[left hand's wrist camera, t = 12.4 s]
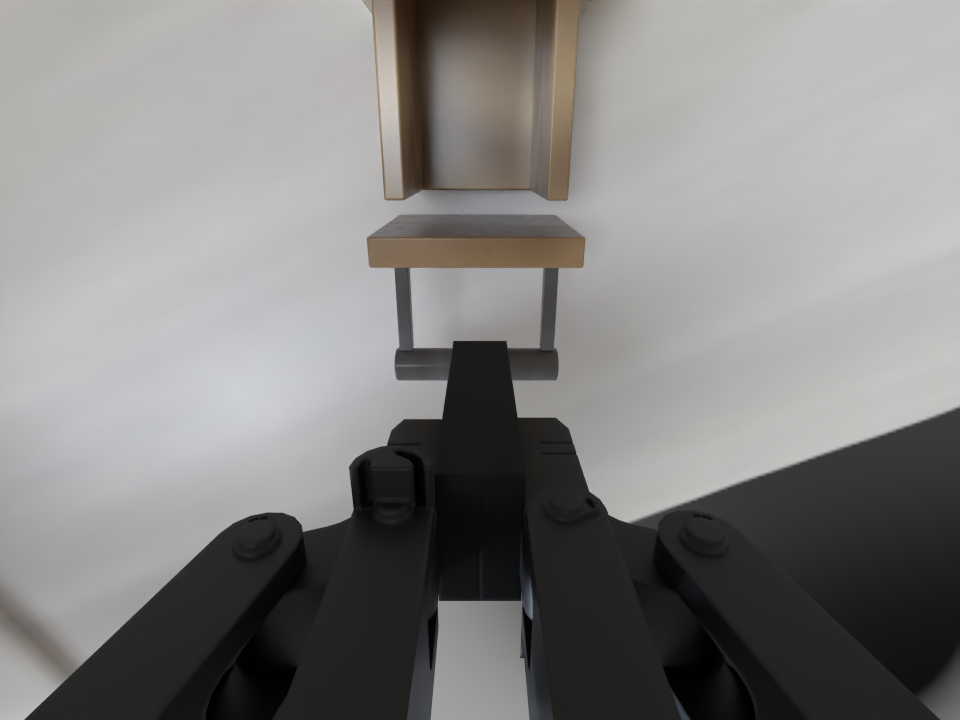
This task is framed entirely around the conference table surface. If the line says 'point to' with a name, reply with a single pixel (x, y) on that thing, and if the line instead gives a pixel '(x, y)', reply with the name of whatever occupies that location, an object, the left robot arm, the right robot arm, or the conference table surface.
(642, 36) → the conference table surface
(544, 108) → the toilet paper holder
